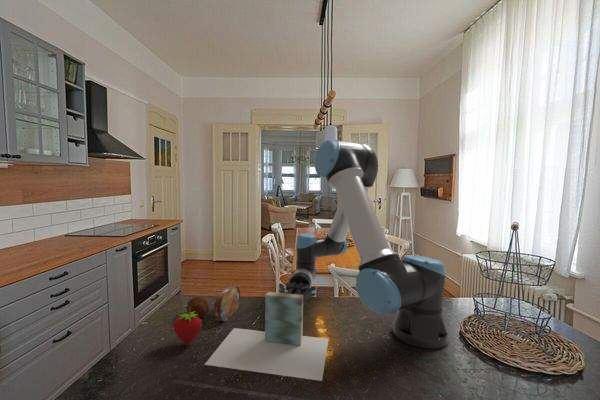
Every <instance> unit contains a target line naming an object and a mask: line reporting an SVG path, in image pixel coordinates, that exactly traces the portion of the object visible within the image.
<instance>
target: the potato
mask: <svg viewBox="0 0 600 400" xmlns="http://www.w3.org/2000/svg"><path fill="white" fill-rule="evenodd" d="M209 309H210V307H209V302H208V301H207V299H206V298H205V297H202V296H199V295H198V296H197V295H196V296H193V297H191V298H190V299H189V301H187V304H186V311H187V314H189V313H191V312H194V311H195V312H194V313H193V314H198V315H196V316H197V317H199V318H200V319H201V320H202V319H203V318H205V317H206V316H207V314H208V313H209V312H208V311H209Z"/></svg>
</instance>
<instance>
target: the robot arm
mask: <svg viewBox="0 0 600 400" xmlns="http://www.w3.org/2000/svg"><path fill="white" fill-rule="evenodd" d="M314 169H315V173H316V175H318V176H320V177H322V178H326V181H327V184H328V186H329V188H331V189H334V190H335V191H336V195H337V197H338V200H339V204H338V207H337V209H336V212H335V215H334V217H333V218H332V222H331V223H330V227H329V230H328V232H327V234H326V236H324V237H318V238H317V236H316V235H315V234H314V233H300V234H298V235H297V238H296V244H295V245H296V250H295V251H296V261H295V271H294V273H293V274H292V276H291V278H290V279H289V281H288V283H287V282H286V284H283V283H278V293H285V291H287V292H286V294H297V295H303V305H305V303H307V301H308V300H309V299H310V298H312V297H314V296H316V286H312V283H313V281H314V280H315V277H316V276H317V268H316V259H317V258H320V257H321V258H322V257H329V256H339V255H341V254H342V255H344V253H346V252H347V250H348V245H349V244H348V241H347V239H346V238H347V237H348V234H349V232H351V236H352V238H353V239H352V240H353V241H354V244H355V247H356V249H357V252H358V255H359V258H360V262H359V264H358V265H357V268H358V269H357V270H358V274H357V276H356V277H355V281H356V283H355V290H356V292H357V295H358V297H359V300H360V301H361V302H362V304H363V305H364V306H365V307H366V308H367V309H369V310H370V311H371V312H374V313H376V314H380V315H382V314H388V313H390V314H393V313H394V312H396V314H395V317H394V320H393V322H392V333H393V334H394V336H395V337H396V339H398V340H400V341H401V342H403V343H405V344H407V345H409V346H412V347H417V348H419V349H420V348H421V349H427V350H428V349H429V350H431V349H432V350H433V349H434V350H436V349H441V348H444V347H446V346H447V345H448V343H449V331H448V326H447V324H446V319H445V317H444V311H443V310H444V297H445V281H446V276H447V275H446V267H445V264H444V263H443V262H442V261H440V260H438V259H434V258H431V257H427V256H421V255H417V254H403V255H402V258H401V257H400V255H399V253H398V252H395V251H394V250H392V249H391V248H390V246H389V243H388V241H387V238H386V236H385V233H384V231H383V228H382V226H381V224H380V221H379V218H378V217H377V213H376V212H375V210H374V208H373V204H372V202H371V199H370V197H369V195H368V190H369V189H370V188H372V187H373V186H374V183H375V181H376V179H377V176H378V172H379V161H378V157H377V154H376V152H375V151H374V149H373V148H372V147H370V146H369V145H368V144H365V143H361V142H350V141H342V140H337V139H335V140H326V141H325V140H324V142H323V143H321V144H320V145H319V147H318V149H317V151H316V154H315V157H314Z"/></svg>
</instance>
